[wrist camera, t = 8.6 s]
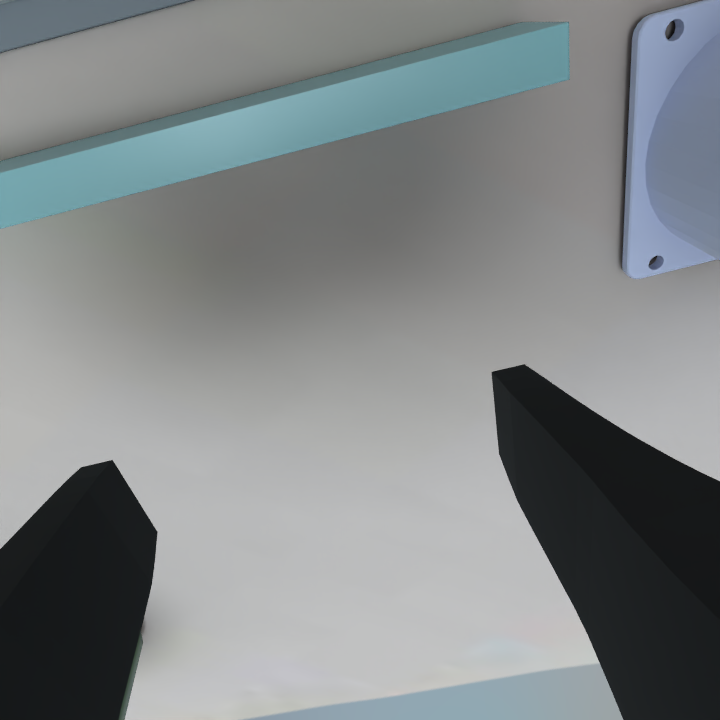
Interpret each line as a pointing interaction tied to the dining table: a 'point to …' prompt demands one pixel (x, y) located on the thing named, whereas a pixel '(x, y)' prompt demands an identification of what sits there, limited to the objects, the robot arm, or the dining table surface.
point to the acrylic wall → (284, 120)
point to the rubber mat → (64, 17)
